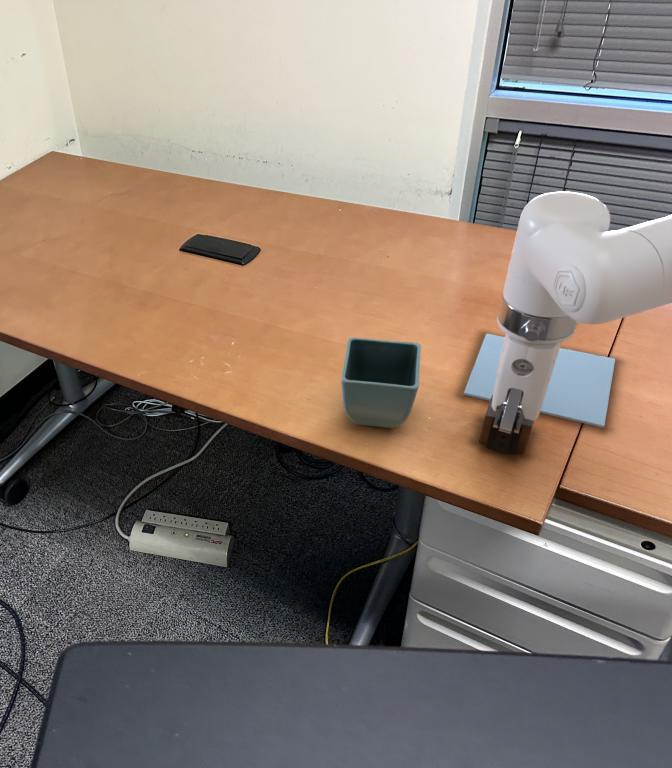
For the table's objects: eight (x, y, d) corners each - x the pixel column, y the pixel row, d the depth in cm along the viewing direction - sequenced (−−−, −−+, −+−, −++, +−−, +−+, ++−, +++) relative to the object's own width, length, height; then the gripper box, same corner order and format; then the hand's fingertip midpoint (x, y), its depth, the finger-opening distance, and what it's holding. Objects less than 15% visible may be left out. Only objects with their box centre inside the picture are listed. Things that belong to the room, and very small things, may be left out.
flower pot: (410, 442, 85) (419, 387, 79) (337, 434, 87) (340, 380, 81) (413, 396, 91) (421, 342, 85) (344, 389, 93) (348, 336, 88)
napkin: (614, 360, 91) (615, 358, 91) (603, 428, 82) (604, 425, 82) (485, 335, 98) (486, 333, 98) (463, 394, 90) (463, 392, 90)
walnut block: (529, 432, 83) (537, 405, 81) (523, 454, 81) (532, 426, 78) (485, 421, 86) (492, 394, 83) (478, 442, 83) (485, 415, 80)
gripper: (568, 367, 65) (526, 494, 76) (588, 278, 75) (549, 402, 87) (483, 349, 68) (455, 474, 80) (514, 266, 79) (485, 387, 90)
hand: (504, 435), depth 83 cm, fingers closed on walnut block, 4 cm apart
